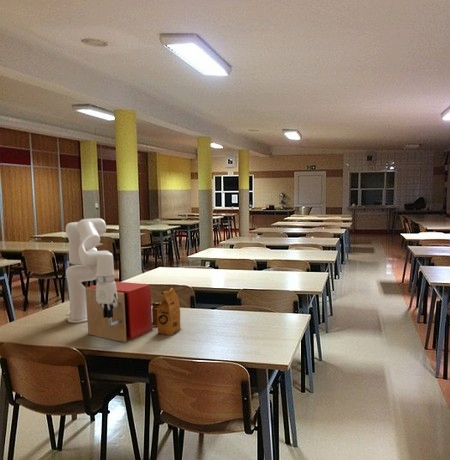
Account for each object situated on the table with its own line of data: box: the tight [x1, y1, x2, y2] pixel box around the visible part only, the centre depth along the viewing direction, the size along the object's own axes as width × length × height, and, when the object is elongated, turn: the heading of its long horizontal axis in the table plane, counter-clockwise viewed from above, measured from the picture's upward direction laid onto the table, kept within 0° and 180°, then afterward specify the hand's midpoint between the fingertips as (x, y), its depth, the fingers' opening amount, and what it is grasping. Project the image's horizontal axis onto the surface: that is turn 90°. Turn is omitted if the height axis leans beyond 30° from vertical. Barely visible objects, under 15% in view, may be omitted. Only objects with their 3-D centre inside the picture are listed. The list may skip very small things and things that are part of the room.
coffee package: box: [157, 287, 182, 336], centre depth 251 cm, size 10×12×22 cm
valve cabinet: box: [86, 280, 153, 341], centre depth 252 cm, size 18×26×24 cm
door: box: [85, 287, 127, 343], centre depth 239 cm, size 8×26×24 cm, turn 56°
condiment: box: [151, 301, 162, 328], centre depth 266 cm, size 7×8×12 cm
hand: (108, 317), depth 230 cm, fingers closed on door
